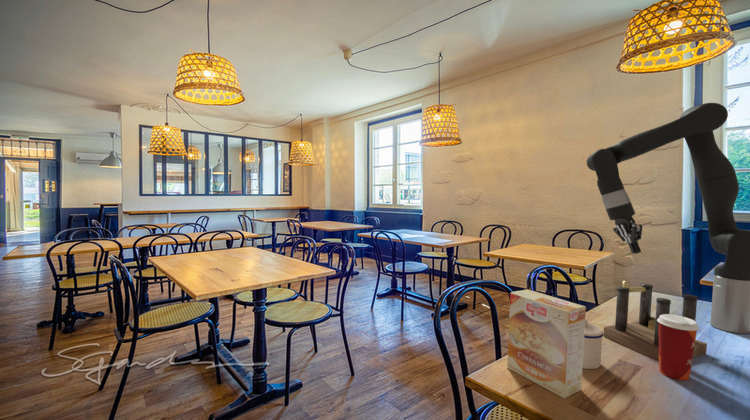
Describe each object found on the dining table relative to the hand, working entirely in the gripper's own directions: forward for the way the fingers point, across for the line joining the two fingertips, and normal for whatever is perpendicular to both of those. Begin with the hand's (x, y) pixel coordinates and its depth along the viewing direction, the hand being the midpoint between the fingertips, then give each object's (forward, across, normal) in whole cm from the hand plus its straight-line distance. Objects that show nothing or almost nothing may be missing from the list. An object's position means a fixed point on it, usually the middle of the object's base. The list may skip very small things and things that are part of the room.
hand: (636, 252), depth 117 cm
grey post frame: (+19, -8, +13) cm, 24 cm away
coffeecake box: (+15, -37, +51) cm, 65 cm away
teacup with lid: (+18, -26, +39) cm, 50 cm away
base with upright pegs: (+24, -14, +13) cm, 30 cm away
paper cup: (+25, -30, +20) cm, 44 cm away
